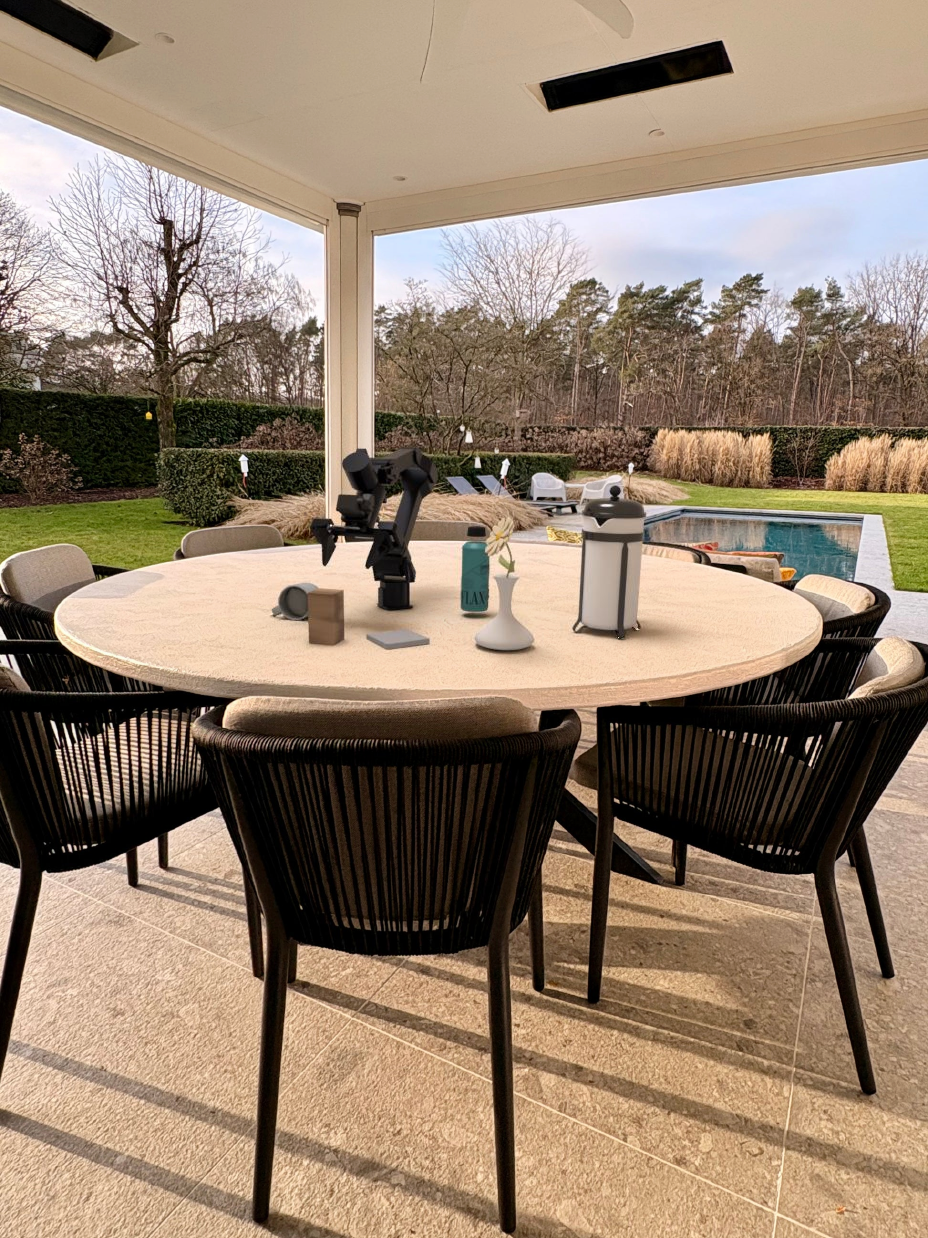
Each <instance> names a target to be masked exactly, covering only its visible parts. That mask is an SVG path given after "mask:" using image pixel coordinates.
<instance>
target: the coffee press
mask: <svg viewBox="0 0 928 1238" xmlns="http://www.w3.org/2000/svg"><path fill="white" fill-rule="evenodd" d="M621 492H622V489H621V487H620V486H618V485H613V486H611V487H610V489H609V494H610V495H611V496H610V497H599V498H594V499H592V500H590V501H588V502H587V503H586V504H585V506H584V509H583V510H581V515H582V519H583V521H582V528H581V539H582V541H581V557H580V558H581V562H580V577H579V578H580V580H579V598H578V599H579V600H578V615H577V620H576V622H575V623H574V624H573V626H572V631H573V632H574V633H576V634H580V633H581V632H582V631H583V630H584V629H587V628H591V629H596V630H602V631H603V630H604V631H605V630H606V631H612V632H614V635H615V637H617V638H618V637H619V639H618V640H622V639H621V638H625V639H626V631H625V630H628V629H630V628H631V629H632V628H633V629H632V630H634V629H635V627H634V626H635V625H636V624H637V627H636V628H638V629H640V630H641V628H642V624H641V623H640V622H639V620H638V611H639V610H638V609H639V597H640V583H641V581H640V580H641V569H642V568H641V567H642V552H643V542H644V540H645V531H644V528H645V527H644V524H645V523H644V522H645V519H646V517H647V512H646V511H645V508H644V505H643V504H642V503H641V502H639V501H637V500H635V499H630V498H620V496H619V495H620V494H621ZM580 623H581V624H582V626H580V627H579V628H578V629H576V628H577V627H578V626H579V624H580ZM617 638H616V639H617Z"/></svg>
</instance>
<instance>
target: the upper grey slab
mask: <svg viewBox="0 0 928 1238" xmlns="http://www.w3.org/2000/svg"><path fill="white" fill-rule="evenodd" d="M366 640H368V641H370V642H371V643H374V644H375V645H377V646H379V647H381V648H383V649H384V650H393V649H401V648H402V647H403V648H409V646H411V647H417V646H416V645H418V646H424V645H423V644H426V645H430V638H429V637H427V636H425V635H423V634H421V633H419V632H415V631H414V630H411V629H408V628H405V629H397V630H390V631H384V632H383V631H381V632H374V633H373V632H372V633H366ZM403 648H402V649H403Z"/></svg>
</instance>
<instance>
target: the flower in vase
mask: <svg viewBox="0 0 928 1238" xmlns="http://www.w3.org/2000/svg"><path fill="white" fill-rule="evenodd" d="M514 529H515V524H514V521H513V518H511V517H510V516H508V517H507V518H505V517H502V518H501V520H500V521H498V523H497V525H493V527H492V531H491V532H490V533H489V537H488V538H486V540H485V542H486V543H487V544H488V545H487V547H486V548H485V553H488V556H490V557H493V556H495V555H498V553H500V552H501V551H502V550H503V549H504V547H506V548H507V551H508V554H509V558H510V559H509V562H508V561H507V560H506V558H504V556H503V555H502V554H500V555H499V557H498V560H497V561H498V563H499V564H500V565H501V566H502V567H504V569H506V570H507V573H494V574H493V575H492V577H493V579H494V580H495V582H496V584H497V588H498V594H499V595H498V597H499V605H498V612H497V615H495V616H494V617H493V618H492V619H491V620H489V622H487V623H486V624H485V625H483V626H482V627H481V628H480V629H478V631H477V632H476V633H475V635H474V638H473V639H474V641H475V642H476V644H477V645H479V646H481V647H483V648H486V649H490V650H494V651H495V650H497V651H515V650H516V651H517V650H522V649H526V648H528V647H531V646H532V645H533V644H534V642H535V637H534V635H533V634H532V632H531V631H530V630H529V629H528V628H527V627H526V626H524V625H523V623H521V622H520V621H519V620H518V619H517V618H516V617H515V616H514V613H513V611H512V599H513V591H514V588H515V585H516V583H517V581H518V580H519V578H520V577H521V576H520V575H519V574H514V573H515V571H516V570H515V563H516V559H514V560H513V556H512V555H513V554H512V552H511V549H510V546H509V544H508V542H509V541H510V540H511V538H512V535H513V532H514Z"/></svg>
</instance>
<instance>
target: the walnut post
mask: <svg viewBox="0 0 928 1238" xmlns="http://www.w3.org/2000/svg"><path fill="white" fill-rule="evenodd" d="M318 588H319V587H318ZM344 592H345V591H344V589H335V588H322V587H321V588H319V589H316V590H314V591H311V592H308V617H307V619H308V620H307V621H308V622H307V623H308V625H307V626H308V627H307V628H308V643H309V645H310V644H312V645H322V646H332V647H333V646H336V645H337V644H339V643H341V642H343V641H345V593H344Z"/></svg>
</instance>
